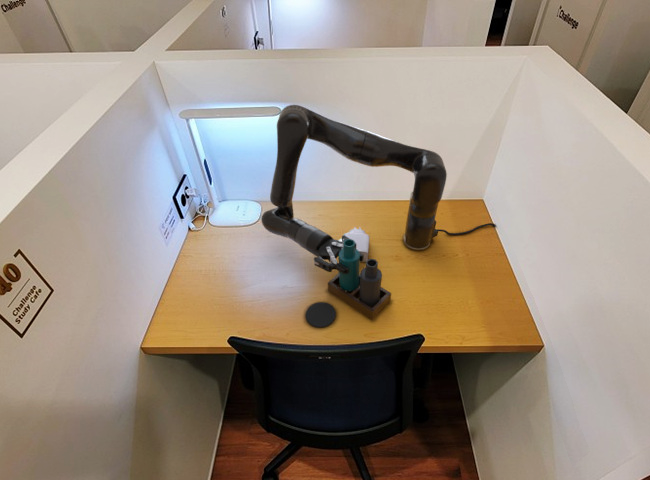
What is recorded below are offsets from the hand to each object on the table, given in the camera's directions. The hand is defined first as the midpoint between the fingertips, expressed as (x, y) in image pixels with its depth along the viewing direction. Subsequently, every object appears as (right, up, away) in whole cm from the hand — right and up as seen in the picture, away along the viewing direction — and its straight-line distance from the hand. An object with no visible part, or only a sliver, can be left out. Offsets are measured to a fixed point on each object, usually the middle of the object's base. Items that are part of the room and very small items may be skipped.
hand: (355, 264), depth 106 cm
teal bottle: (-2, -6, +8) cm, 10 cm away
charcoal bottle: (+4, -12, +7) cm, 14 cm away
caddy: (+1, -10, +8) cm, 13 cm away
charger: (+1, +7, +24) cm, 25 cm away
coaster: (-10, -15, +3) cm, 19 cm away
